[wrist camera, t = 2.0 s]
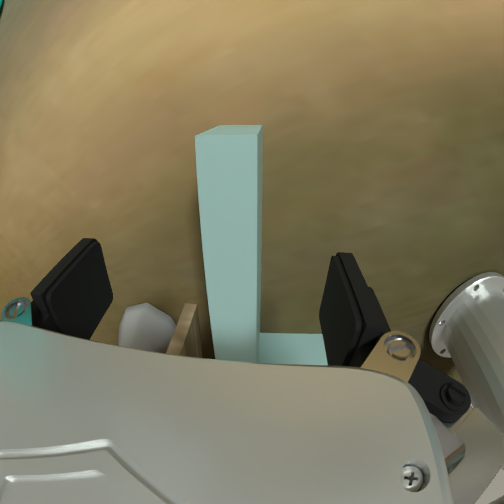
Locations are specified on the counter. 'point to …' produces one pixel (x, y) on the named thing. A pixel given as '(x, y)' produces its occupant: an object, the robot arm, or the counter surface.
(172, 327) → the flask
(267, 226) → the counter surface
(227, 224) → the block
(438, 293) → the counter surface
